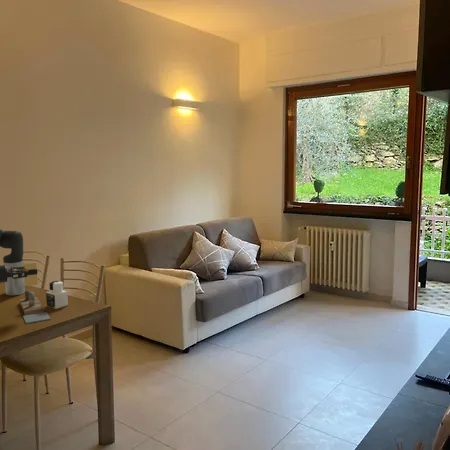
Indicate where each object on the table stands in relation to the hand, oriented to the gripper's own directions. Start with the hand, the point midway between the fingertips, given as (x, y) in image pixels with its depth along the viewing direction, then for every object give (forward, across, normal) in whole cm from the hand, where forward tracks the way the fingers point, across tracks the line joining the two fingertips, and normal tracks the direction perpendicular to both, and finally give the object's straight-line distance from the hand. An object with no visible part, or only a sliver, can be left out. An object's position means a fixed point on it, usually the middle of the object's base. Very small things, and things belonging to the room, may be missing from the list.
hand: (36, 270), depth 210 cm
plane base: (-2, +10, +20) cm, 22 cm away
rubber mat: (-2, -7, +20) cm, 21 cm away
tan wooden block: (-3, 0, +6) cm, 7 cm away
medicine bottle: (+9, +6, +20) cm, 23 cm away
